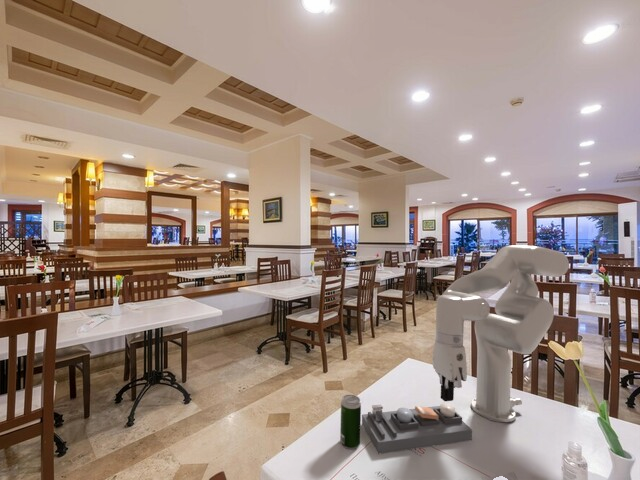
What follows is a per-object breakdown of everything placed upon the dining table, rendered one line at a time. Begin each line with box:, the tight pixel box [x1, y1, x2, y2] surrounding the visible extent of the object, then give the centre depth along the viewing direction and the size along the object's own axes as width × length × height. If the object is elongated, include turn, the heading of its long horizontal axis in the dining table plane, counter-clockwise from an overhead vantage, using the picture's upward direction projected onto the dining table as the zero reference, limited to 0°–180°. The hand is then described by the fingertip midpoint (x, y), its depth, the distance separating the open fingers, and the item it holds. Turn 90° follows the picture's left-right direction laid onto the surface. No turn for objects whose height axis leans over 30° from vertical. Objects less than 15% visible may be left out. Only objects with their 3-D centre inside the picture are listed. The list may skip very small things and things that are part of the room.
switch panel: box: [361, 405, 473, 455], centre depth 84 cm, size 28×12×4 cm, turn 102°
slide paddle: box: [371, 404, 384, 421], centre depth 85 cm, size 3×2×4 cm
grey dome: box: [396, 407, 412, 423], centre depth 83 cm, size 4×4×2 cm
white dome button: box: [439, 402, 456, 418], centre depth 86 cm, size 4×4×2 cm
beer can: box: [339, 394, 362, 451], centre depth 79 cm, size 5×5×12 cm
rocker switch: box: [414, 405, 439, 419], centre depth 85 cm, size 5×4×1 cm
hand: (446, 399), depth 86 cm, fingers closed
